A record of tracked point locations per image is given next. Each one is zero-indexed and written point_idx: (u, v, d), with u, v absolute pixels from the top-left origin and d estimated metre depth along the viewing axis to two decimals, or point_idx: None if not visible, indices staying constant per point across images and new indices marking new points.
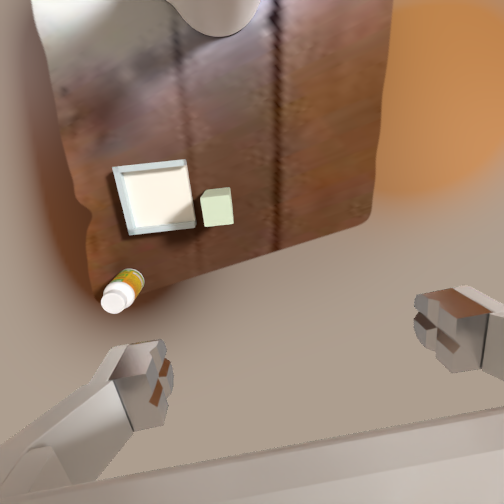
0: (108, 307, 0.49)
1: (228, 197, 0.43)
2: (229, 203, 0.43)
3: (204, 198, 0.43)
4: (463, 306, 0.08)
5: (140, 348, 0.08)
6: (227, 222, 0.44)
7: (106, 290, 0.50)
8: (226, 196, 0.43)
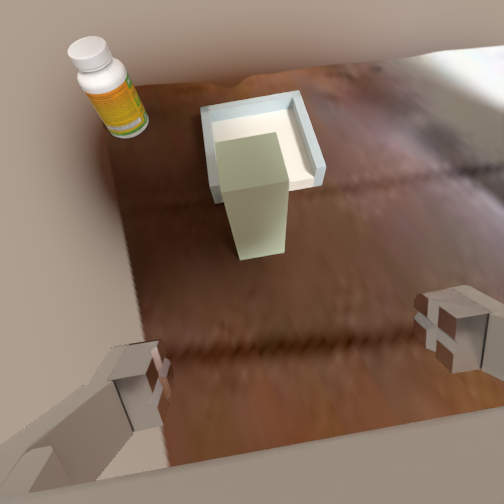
0: (80, 43, 0.30)
1: (282, 178, 0.19)
2: (269, 181, 0.19)
3: (275, 138, 0.20)
4: (463, 306, 0.08)
5: (140, 348, 0.08)
6: (224, 181, 0.19)
7: (113, 57, 0.32)
8: (284, 174, 0.19)
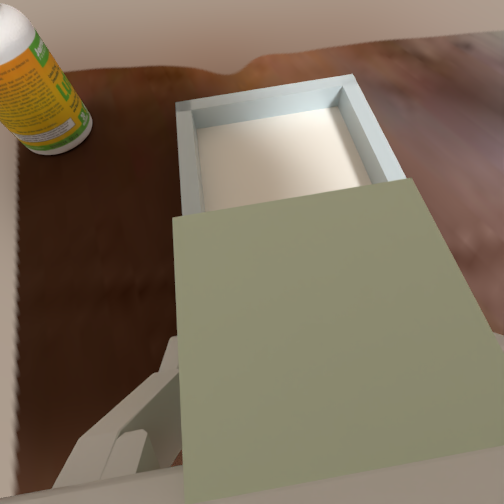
0: None
1: None
2: None
3: (418, 208, 0.05)
4: None
5: None
6: (204, 448, 0.04)
7: (7, 5, 0.17)
8: None
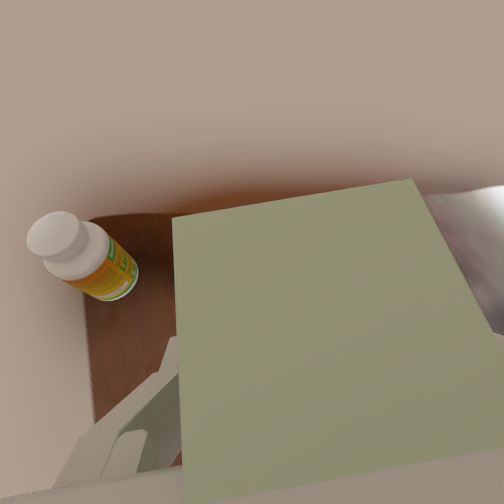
0: (45, 223, 0.22)
1: None
2: None
3: (418, 208, 0.05)
4: None
5: None
6: (204, 450, 0.04)
7: (92, 226, 0.24)
8: None
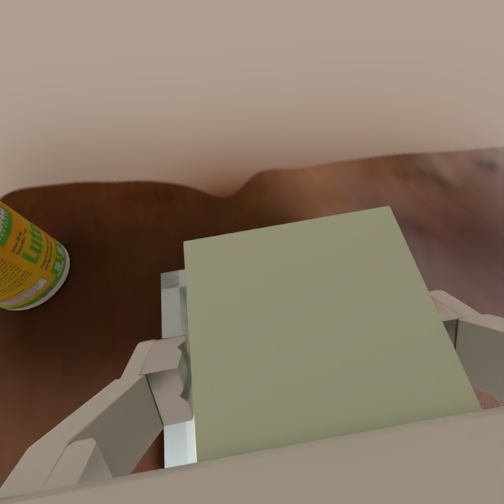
0: None
1: None
2: None
3: (394, 233, 0.06)
4: None
5: (168, 343, 0.08)
6: (213, 436, 0.04)
7: None
8: None
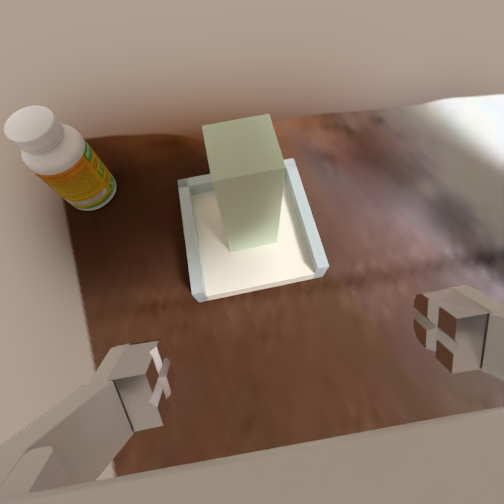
0: (21, 116, 0.23)
1: (278, 165, 0.17)
2: (263, 168, 0.17)
3: (269, 121, 0.19)
4: (463, 306, 0.08)
5: (140, 348, 0.08)
6: (214, 168, 0.17)
7: (66, 126, 0.26)
8: (280, 161, 0.17)
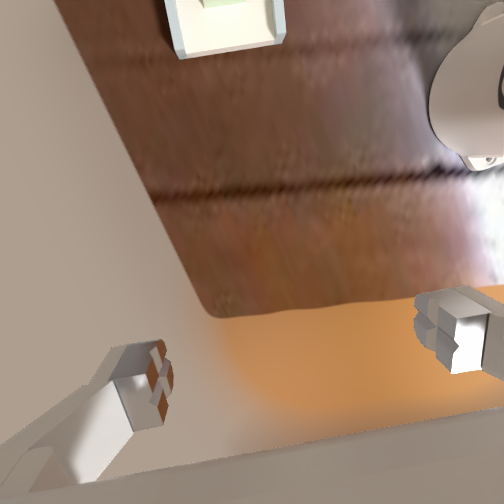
0: None
1: None
2: None
3: None
4: (463, 306, 0.08)
5: (140, 348, 0.08)
6: None
7: None
8: None
